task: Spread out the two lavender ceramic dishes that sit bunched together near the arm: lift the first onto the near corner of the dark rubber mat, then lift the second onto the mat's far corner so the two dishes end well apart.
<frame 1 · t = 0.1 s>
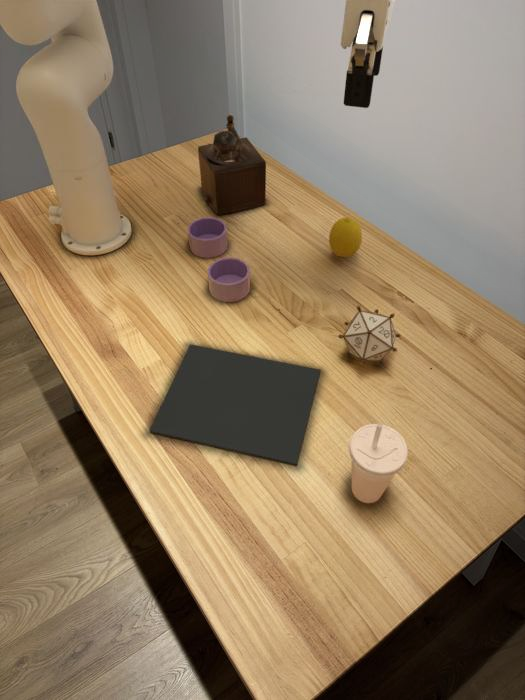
hand: (361, 89, 71), 31 cm above the table, tool pointing down, fingers open, 9 cm apart
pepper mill: (236, 204, 109), on the table
mat: (238, 400, 77), on the table
lemon: (342, 257, 98), on the table
game die: (365, 355, 83), on the table
dish a: (229, 288, 92), on the table
smoothie: (366, 490, 68), on the table
dish b: (208, 245, 100), on the table
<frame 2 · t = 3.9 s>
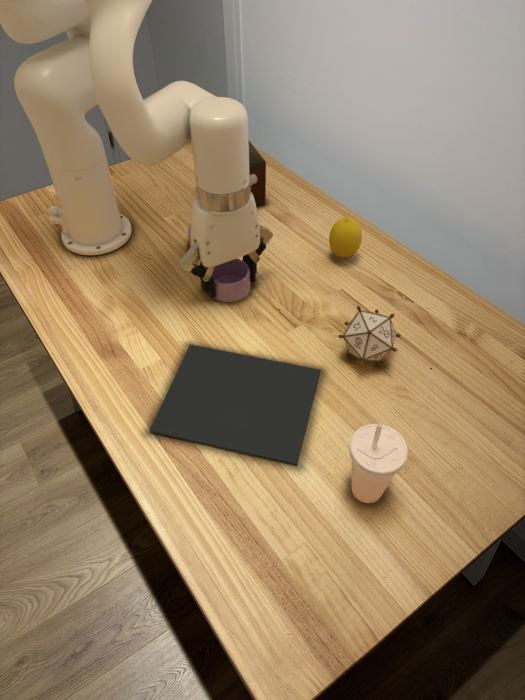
hand: (229, 285, 92), 1 cm above the table, tool pointing down, fingers closed on dish a, 6 cm apart
dish a: (229, 288, 92), on the table, touching gripper
everything else where it was.
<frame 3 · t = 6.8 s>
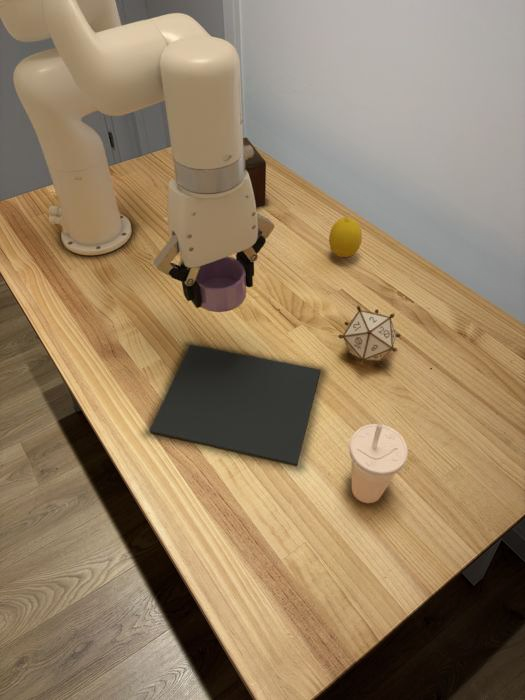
hand: (220, 290, 73), 13 cm above the table, tool pointing down, fingers closed on dish a, 6 cm apart
dish a: (220, 294, 73), point 12 cm above the table, touching gripper
everything else where it was.
when the fingers open (1 cm above the table, at t = 10.0 s): dish a stays where it is, resting on mat.
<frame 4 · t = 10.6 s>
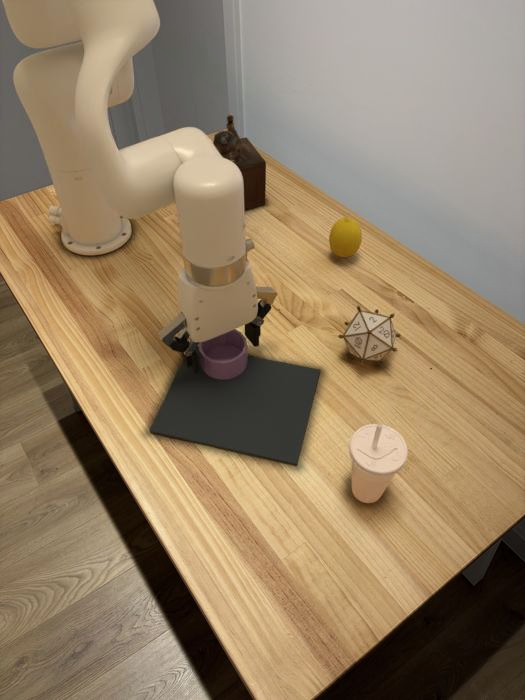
hand: (222, 353, 80), 2 cm above the table, tool pointing down, fingers open, 9 cm apart
dish a: (224, 361, 81), resting on mat
everything else where it was.
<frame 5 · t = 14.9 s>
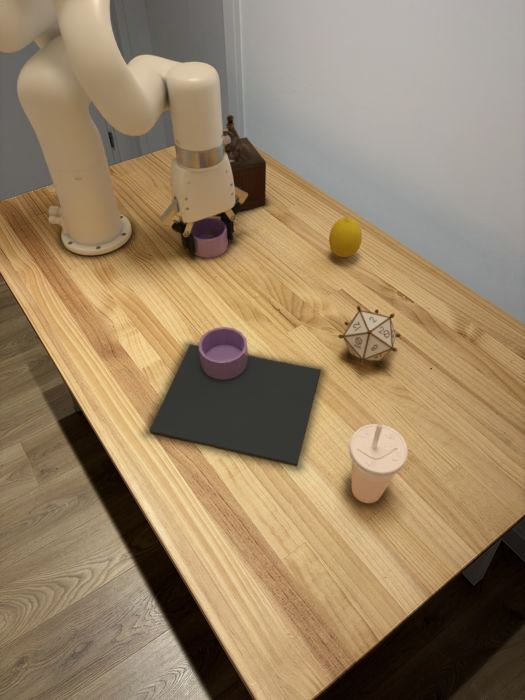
hand: (208, 242, 99), 1 cm above the table, tool pointing down, fingers closed on dish b, 6 cm apart
dish b: (209, 245, 100), on the table, touching gripper
everything else where it was.
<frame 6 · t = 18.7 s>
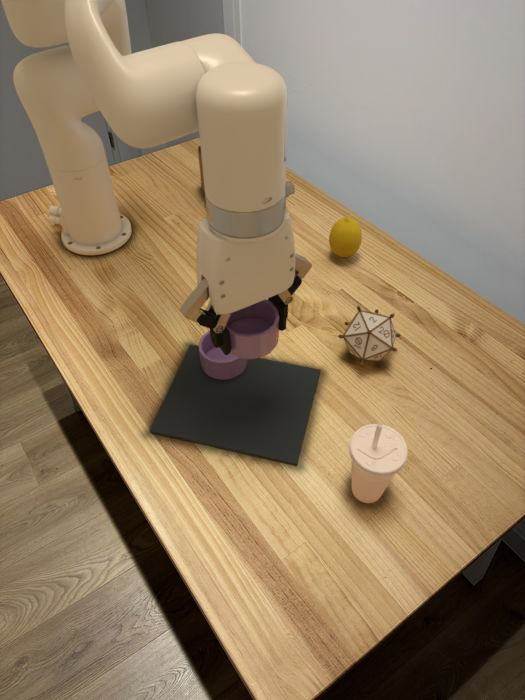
hand: (250, 334, 66), 14 cm above the table, tool pointing down, fingers closed on dish b, 6 cm apart
dish b: (250, 338, 67), point 13 cm above the table, touching gripper
everything else where it was.
when the fingers open (1 cm above the table, at t = 22.5 s): dish b stays where it is, resting on mat.
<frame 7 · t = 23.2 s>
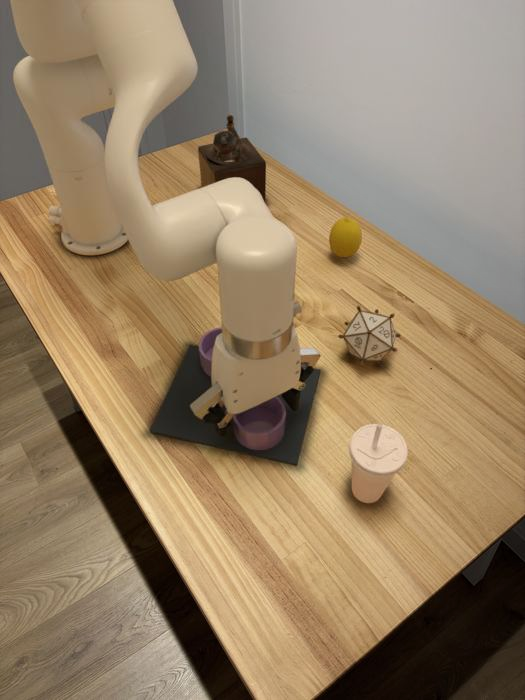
hand: (258, 418, 72), 3 cm above the table, tool pointing down, fingers open, 9 cm apart
dish b: (259, 428, 73), resting on mat
everything else where it was.
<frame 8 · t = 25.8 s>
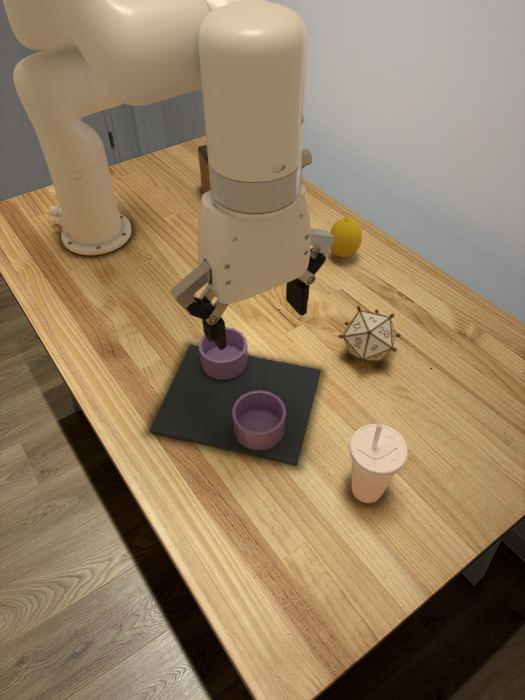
hand: (257, 323, 58), 20 cm above the table, tool pointing down, fingers open, 9 cm apart
nothing on the table moved.
at the end: dish a 0.1 cm from the target spot on the mat, point 0.5 cm above the mat's base; dish b 0.0 cm from the target spot on the mat, point 0.5 cm above the mat's base; dish b tilted 0° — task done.
